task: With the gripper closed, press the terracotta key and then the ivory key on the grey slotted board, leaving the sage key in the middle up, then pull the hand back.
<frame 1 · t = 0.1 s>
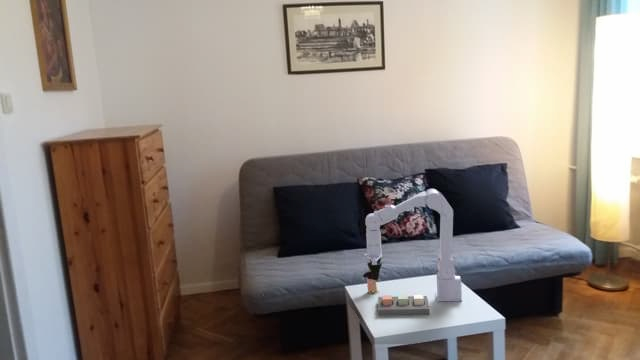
hand: (375, 276, 204), 10 cm above the table, tool pointing down, fingers open, 7 cm apart
ivory key: (418, 300, 194), point 3 cm above the table, slide at 0.0 cm
grandmother figurine: (371, 292, 214), on the table
sage key: (403, 300, 195), point 3 cm above the table, slide at 0.0 cm
grey slotted board: (403, 308, 195), on the table
terracotta key: (387, 300, 196), point 3 cm above the table, slide at 0.0 cm
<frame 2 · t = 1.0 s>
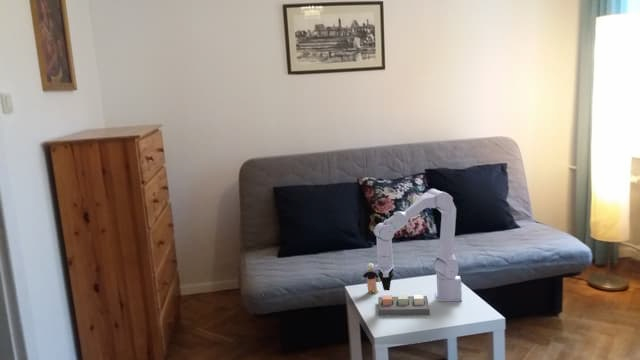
hand: (386, 288, 195), 8 cm above the table, tool pointing down, fingers open, 3 cm apart
nothing on the table moved.
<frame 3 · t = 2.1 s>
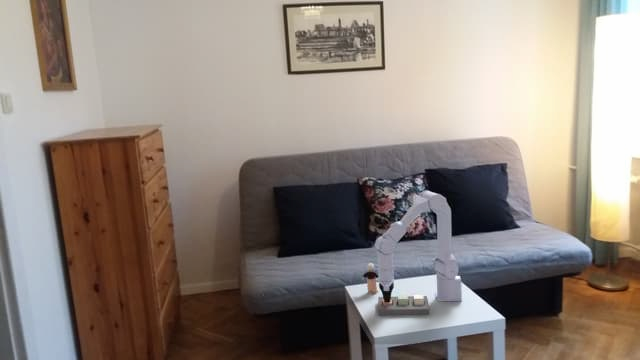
hand: (387, 301, 196), 3 cm above the table, tool pointing down, fingers closed, pressing on terracotta key
terracotta key: (387, 304, 196), point 2 cm above the table, slide at 1.7 cm, touching gripper
everything else where it was.
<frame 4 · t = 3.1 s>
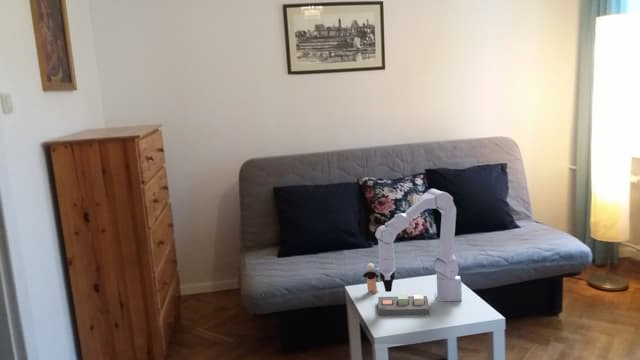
hand: (388, 291, 195), 7 cm above the table, tool pointing down, fingers closed
terracotta key: (387, 305, 196), point 2 cm above the table, slide at 1.9 cm
everything else where it was.
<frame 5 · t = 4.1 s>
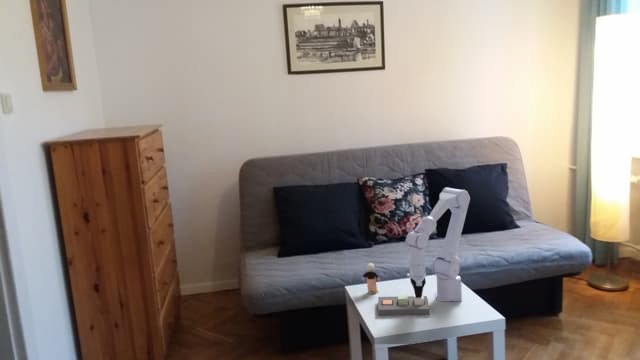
hand: (418, 297, 194), 5 cm above the table, tool pointing down, fingers closed, pressing on ivory key
ivory key: (418, 300, 194), point 3 cm above the table, slide at 0.0 cm, touching gripper
everything else where it was.
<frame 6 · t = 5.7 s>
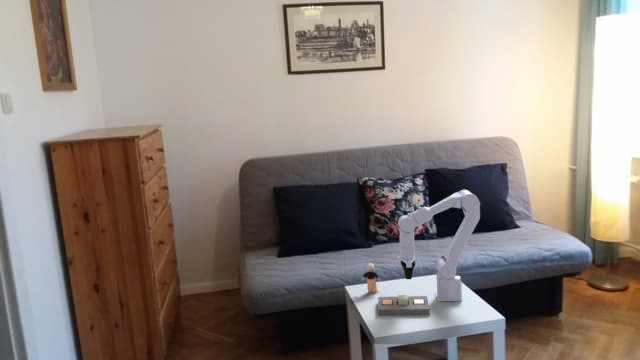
hand: (408, 278, 202), 9 cm above the table, tool pointing down, fingers closed
ivory key: (419, 304, 194), point 2 cm above the table, slide at 1.9 cm
everything else where it was.
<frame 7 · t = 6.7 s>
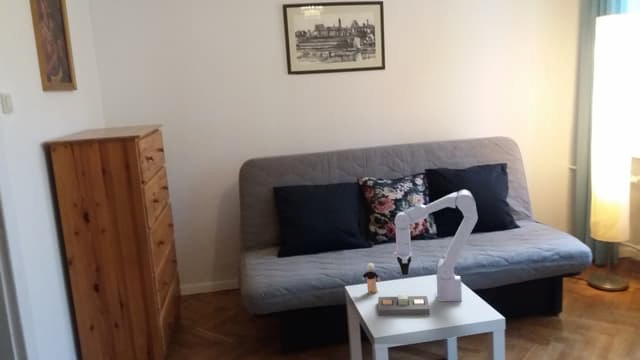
hand: (404, 274, 205), 9 cm above the table, tool pointing down, fingers closed
nothing on the table moved.
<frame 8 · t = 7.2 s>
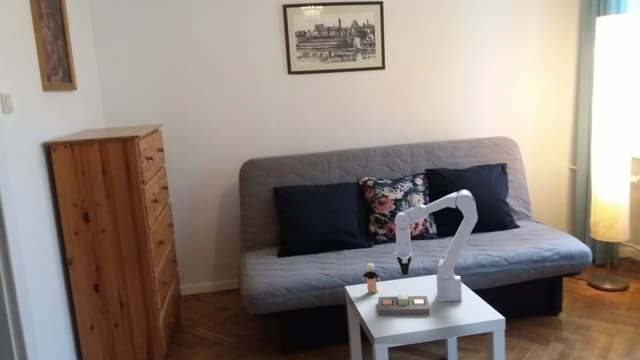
hand: (404, 274, 205), 9 cm above the table, tool pointing down, fingers closed
nothing on the table moved.
at the end: terracotta key slide at 1.9 cm; ivory key slide at 1.9 cm; sage key slide at 0.0 cm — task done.
